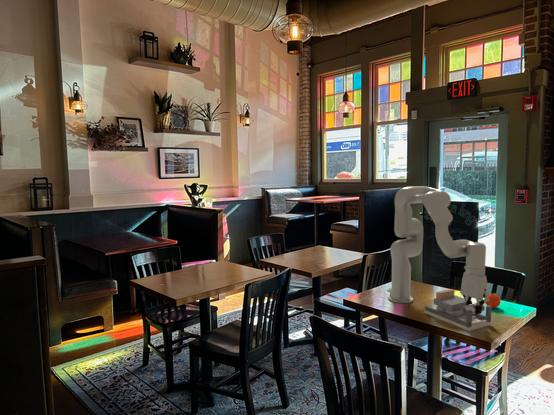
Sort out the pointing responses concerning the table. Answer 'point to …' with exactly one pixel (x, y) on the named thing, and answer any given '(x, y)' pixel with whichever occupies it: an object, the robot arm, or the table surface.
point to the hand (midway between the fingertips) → (473, 311)
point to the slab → (449, 300)
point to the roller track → (461, 317)
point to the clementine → (493, 300)
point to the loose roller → (471, 308)
